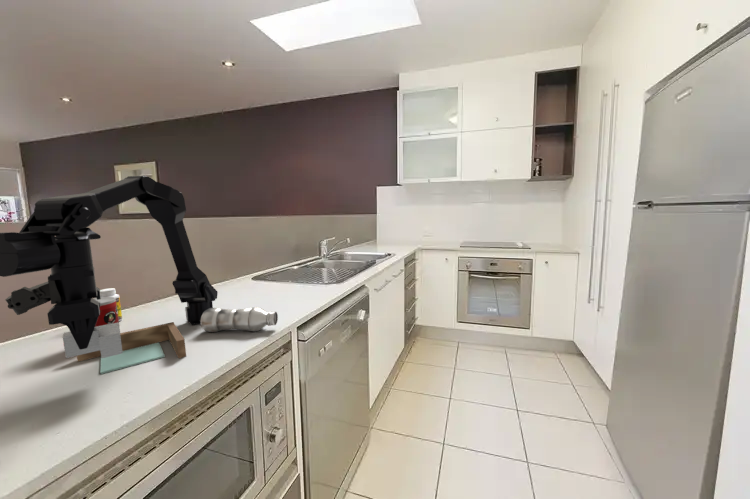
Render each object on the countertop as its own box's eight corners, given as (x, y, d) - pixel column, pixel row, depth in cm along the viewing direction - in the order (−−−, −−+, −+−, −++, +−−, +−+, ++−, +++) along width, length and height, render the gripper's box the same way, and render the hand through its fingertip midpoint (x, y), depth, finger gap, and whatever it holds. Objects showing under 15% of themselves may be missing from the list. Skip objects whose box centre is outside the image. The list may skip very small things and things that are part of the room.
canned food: (98, 349, 76) (92, 305, 75) (72, 347, 78) (66, 304, 77) (128, 337, 84) (123, 297, 82) (104, 335, 85) (99, 296, 84)
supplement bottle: (116, 324, 94) (111, 291, 93) (94, 326, 93) (89, 292, 92) (126, 318, 100) (122, 286, 99) (106, 320, 99) (101, 288, 97)
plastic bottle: (213, 317, 91) (281, 316, 91) (203, 337, 86) (275, 335, 85) (204, 302, 87) (275, 301, 87) (193, 322, 82) (269, 320, 81)
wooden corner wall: (175, 336, 83) (173, 321, 83) (186, 356, 71) (184, 339, 71) (78, 359, 71) (75, 342, 71) (72, 387, 59) (69, 367, 59)
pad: (159, 343, 79) (158, 342, 79) (164, 357, 71) (164, 355, 71) (101, 357, 72) (101, 356, 72) (100, 374, 64) (100, 372, 64)
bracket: (121, 340, 65) (118, 322, 65) (122, 353, 59) (120, 332, 58) (67, 352, 60) (64, 332, 59) (63, 367, 54) (59, 345, 53)
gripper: (18, 265, 60) (31, 343, 62) (-9, 279, 46) (9, 380, 48) (95, 258, 67) (105, 328, 69) (93, 269, 53) (105, 356, 55)
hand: (84, 345), depth 60 cm, fingers closed on bracket, 3 cm apart
